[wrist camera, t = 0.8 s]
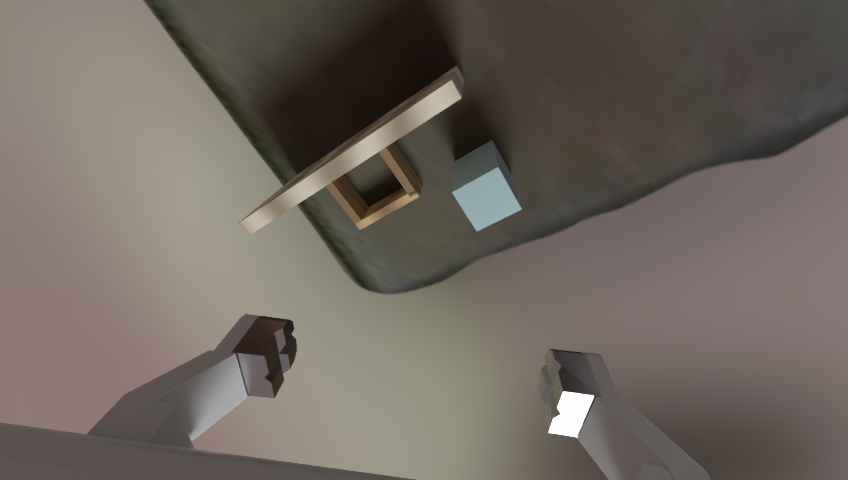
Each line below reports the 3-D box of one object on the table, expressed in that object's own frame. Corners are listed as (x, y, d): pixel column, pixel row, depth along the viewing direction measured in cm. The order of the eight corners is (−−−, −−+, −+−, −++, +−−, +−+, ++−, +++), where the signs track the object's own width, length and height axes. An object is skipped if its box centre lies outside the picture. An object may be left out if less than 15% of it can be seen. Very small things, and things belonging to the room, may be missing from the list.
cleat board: (456, 65, 39) (451, 79, 27) (498, 141, 42) (509, 184, 30) (297, 174, 47) (238, 223, 35) (342, 230, 51) (303, 292, 39)
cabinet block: (492, 139, 42) (498, 166, 34) (514, 180, 45) (525, 215, 36) (455, 161, 44) (451, 192, 35) (478, 199, 46) (480, 237, 38)
